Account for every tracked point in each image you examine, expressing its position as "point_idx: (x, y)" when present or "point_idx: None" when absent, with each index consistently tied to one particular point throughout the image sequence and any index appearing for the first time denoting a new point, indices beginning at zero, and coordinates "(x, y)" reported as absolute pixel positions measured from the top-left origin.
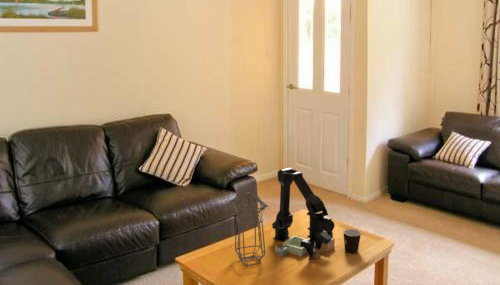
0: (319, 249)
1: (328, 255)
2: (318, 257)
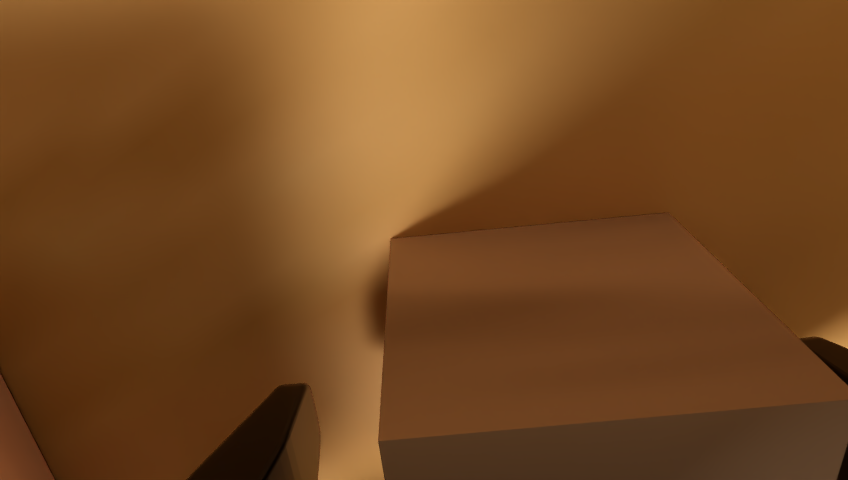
0: (453, 448)
1: (101, 59)
2: (509, 230)
